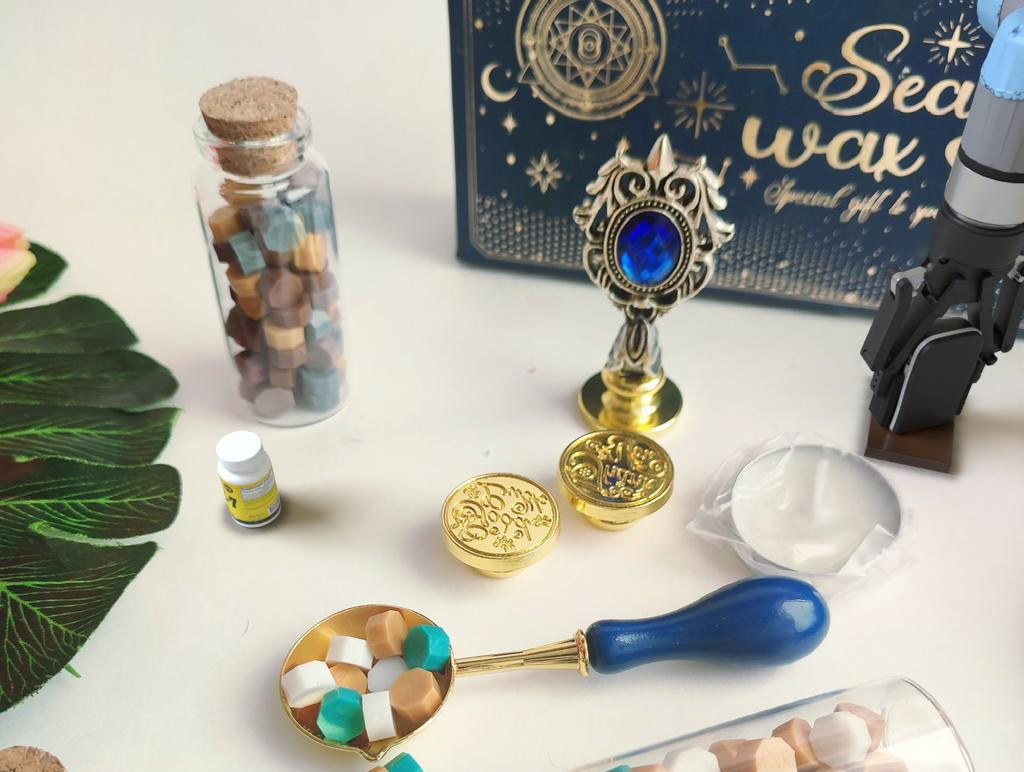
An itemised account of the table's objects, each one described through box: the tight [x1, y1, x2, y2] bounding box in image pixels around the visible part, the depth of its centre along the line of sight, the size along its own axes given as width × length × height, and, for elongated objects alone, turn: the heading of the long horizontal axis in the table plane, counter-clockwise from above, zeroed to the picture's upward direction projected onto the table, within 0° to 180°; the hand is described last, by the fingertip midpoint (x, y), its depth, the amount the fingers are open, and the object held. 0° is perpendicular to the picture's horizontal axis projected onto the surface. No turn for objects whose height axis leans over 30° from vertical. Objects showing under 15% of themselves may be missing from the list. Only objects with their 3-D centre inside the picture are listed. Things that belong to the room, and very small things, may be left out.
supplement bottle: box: [216, 430, 282, 528], centre depth 98 cm, size 5×5×8 cm
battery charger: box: [888, 316, 984, 434], centre depth 103 cm, size 7×4×11 cm, turn 108°
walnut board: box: [863, 392, 956, 474], centre depth 108 cm, size 12×8×1 cm, turn 162°
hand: (914, 411), depth 107 cm, fingers closed on battery charger, 7 cm apart
